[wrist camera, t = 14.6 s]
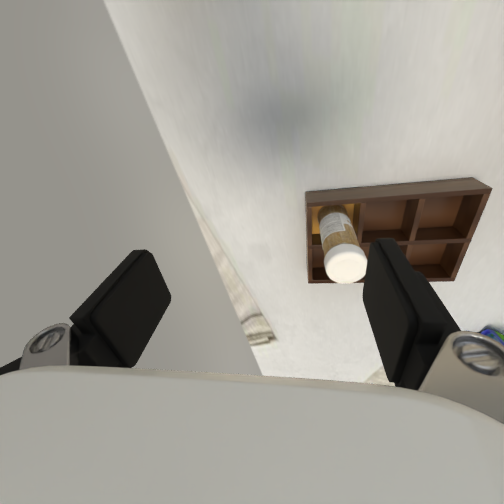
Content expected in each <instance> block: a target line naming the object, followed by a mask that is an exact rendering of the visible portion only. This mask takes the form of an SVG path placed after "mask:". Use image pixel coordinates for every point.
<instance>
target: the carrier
mask: <svg viewBox="0 0 504 504" xmlns="http://www.w3.org/2000/svg"><path fill="white" fill-rule="evenodd" d="M491 191H492V188H491V187H489V186H487V185H486V184H484V183H482V182H480V181H478V180H476V179H474V178H461V179H449V180H438V181H426V182H415V183H403V184H392V185H380V186H368V187H357V188H345V189H334V190H322V191H311V192H305V199H306V239H307V273H308V283H337V282H335V281H333V280H331V279H330V278H329V277H328V275H327V273H326V270H325V265H324V258H325V256H324V251H323V248H322V242H321V236H320V229H319V223H318V220H317V215H318V212H319V211H320V209H321V208H322V207H324V206H330V205H342V206H343V207H344V208H345V209H346V210H347V213H348V218H349V219H350V221H351V224H352V226H353V229H354V231H355V234H356V237H357V240H358V243H359V246H360V248H361V249H362V250H363V252H364V253H365V256H366V258H367V260H368V253H369V247H370V243H372V242H375V240H376V239H378V238H394V239H395V241H396V242H397V244H398V245H399V247H400V249H401V250H402V252H403V253H404V255H405V256H406V258H407V260H408V261H409V263H410V264H411V266H412V267H413V269H414V271H419V272H421V273H422V274H423V275H424V276H425V277H426V279H427V280H428V282H436V281H454V280H455V278H456V275H457V273H458V270H459V268H460V266H461V263H462V261H463V258H464V256H465V254H466V251H467V249H468V246H469V244H470V242H471V239H472V237H473V234H474V232H475V230H476V227H477V225H478V222H479V220H480V217H481V215H482V213H483V210H484V208H485V205H486V203H487V200H488V198H489V196H490V193H491ZM364 281H365V276H364V277H363V278H361V279H360V280H358V281H356V282H353V283H364Z"/></svg>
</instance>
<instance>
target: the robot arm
mask: <svg viewBox="0 0 504 504" xmlns="http://www.w3.org/2000/svg"><path fill="white" fill-rule="evenodd" d="M170 301H171V294H170V292H169V290H168V288H167V285H166V283H165V281H164V279H163V277H162V274H161V272H160V270H159V268H158V265H157V263H156V261H155V259H154V257H153V255H152V253H150V252H149V251H147V250H133V251H132V252H131V253H130V254H129V255H128V256H127V257H126V258H125V259H124V260H123V261H122V263H120V265H119V266H118V267H117V268H116V269H115V270H114V271H113V272H112V273H111V274H110V275H109V276H108V277H107V278H106V279H105V280H104V281H103V283H102V284H101V285H100V286H99V287H98V288H97V289H96V290H95V291H94V292H93V293H92V294H91V295H90V296H89V297H88V298H87V300H86V301H85V302H84V303H83V304H82V305H81V306H80V307H79V308H78V309H77V310H76V311H75V312H74V313H73V314H72V315H71V316H70V320H71V321H72V322H73V323H74V324H73V325H72V327H70V326H69V325H67V324H65V323H59V324H55V325H52V326H50V327H47V328H46V329H44V330H42V331H40V332H39V333H38V334H36V335H35V336H34V337H33V338H32V339H31V340H30V341H29V342H28V343H27V344H26V346H25V348H24V351H23V355H22V357H21V358H18V359H16V360H15V361H13V362H11V363H9V364H7V365H5V366H3V367H1V368H0V504H504V345H502V344H501V343H500V342H498V341H496V340H494V339H492V338H490V337H488V336H486V335H483V334H480V333H477V332H471V331H461V330H460V328H459V327H458V325H457V324H456V322H455V321H454V319H453V318H452V316H451V315H450V313H449V312H448V310H447V309H446V307H445V306H444V304H443V303H442V301H441V300H440V298H439V297H438V295H437V294H436V292H435V291H434V289H433V288H432V286H431V285H430V283H429V282H428V280H427V279H426V277H425V276H424V275H423V274H422V273H421V272H419V271H414V269H413V267H412V266H411V264H410V263H409V261H408V260H407V258H406V256H405V255H404V253H403V252H402V250H401V249H400V247H399V245H398V244H397V242H396V241H395V239H394V238H378V239H376V240H375V242H372V243H370V247H369V253H368V260H367V267H366V274H365V281H364V288H363V302H364V305H365V309H366V312H367V315H368V318H369V321H370V324H371V328H372V331H373V334H374V337H375V340H376V344H377V347H378V350H379V353H380V356H381V359H382V363H383V366H384V369H385V372H386V375H387V378H388V380H389V382H394V383H395V386H396V387H394V386H386V385H378V384H370V383H358V382H345V381H333V380H320V379H305V378H290V377H274V376H258V375H243V374H226V373H208V372H192V371H175V370H156V369H137V368H132V367H133V366H135V365H136V363H137V361H138V360H139V358H140V356H141V354H142V352H143V351H144V349H145V347H146V345H147V343H148V342H149V340H150V338H151V336H152V334H153V333H154V331H155V329H156V327H157V325H158V324H159V322H160V320H161V318H162V316H163V314H164V313H165V311H166V309H167V307H168V306H169V304H170Z"/></svg>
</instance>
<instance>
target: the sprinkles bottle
mask: <svg viewBox="0 0 504 504" xmlns="http://www.w3.org/2000/svg"><path fill="white" fill-rule="evenodd" d="M317 220H318V223H319V229H320V236H321V242H322V248H323V251H324V256H325V258H324V265H325V270H326V273H327V275H328V277H329V278H330V279H331V280H333V281H335V282H337V283H342V284H349V283H353V282H356V281H358V280H360V279H361V278H363V277H364V276H365V274H366V267H367V258H366V256H365V253H364V252H363V250H362V249H361V248H360V246H359V243H358V240H357V237H356V234H355V231H354V229H353V226H352V224H351V221H350V219H349V218H348V213H347V210H346V209H345V208H344V207H343V206H342V205H330V206H324V207H322V208H321V209H320V211H319V212H318V215H317Z"/></svg>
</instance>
